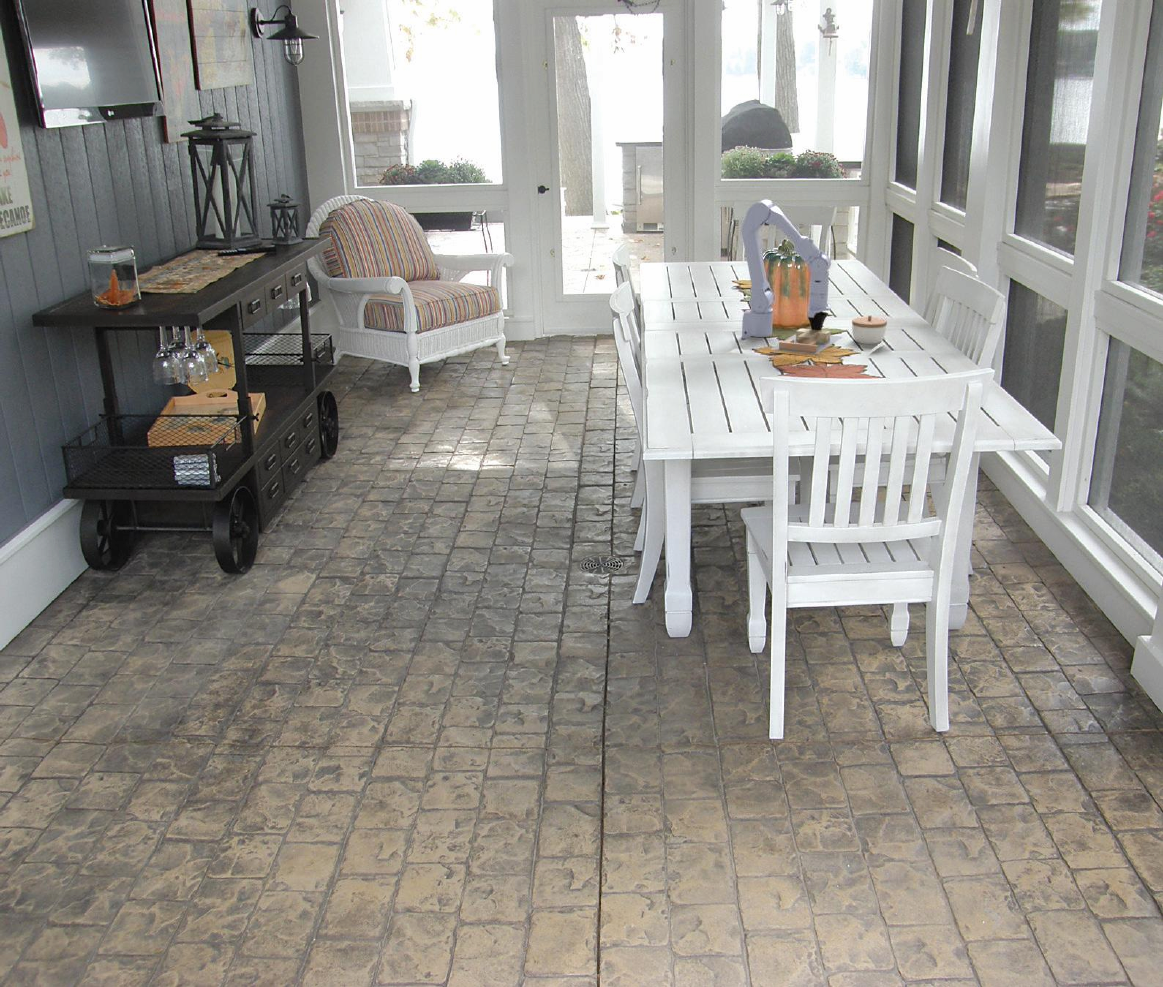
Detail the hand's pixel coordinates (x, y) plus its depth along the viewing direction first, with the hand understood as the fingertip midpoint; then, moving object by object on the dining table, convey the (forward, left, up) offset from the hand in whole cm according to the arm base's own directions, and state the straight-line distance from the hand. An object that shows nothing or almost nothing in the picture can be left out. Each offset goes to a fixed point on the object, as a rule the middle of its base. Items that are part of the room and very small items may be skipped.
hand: (816, 335), depth 359 cm
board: (-1, -7, -2) cm, 8 cm away
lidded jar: (+16, +4, -2) cm, 17 cm away
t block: (0, -7, -1) cm, 7 cm away
